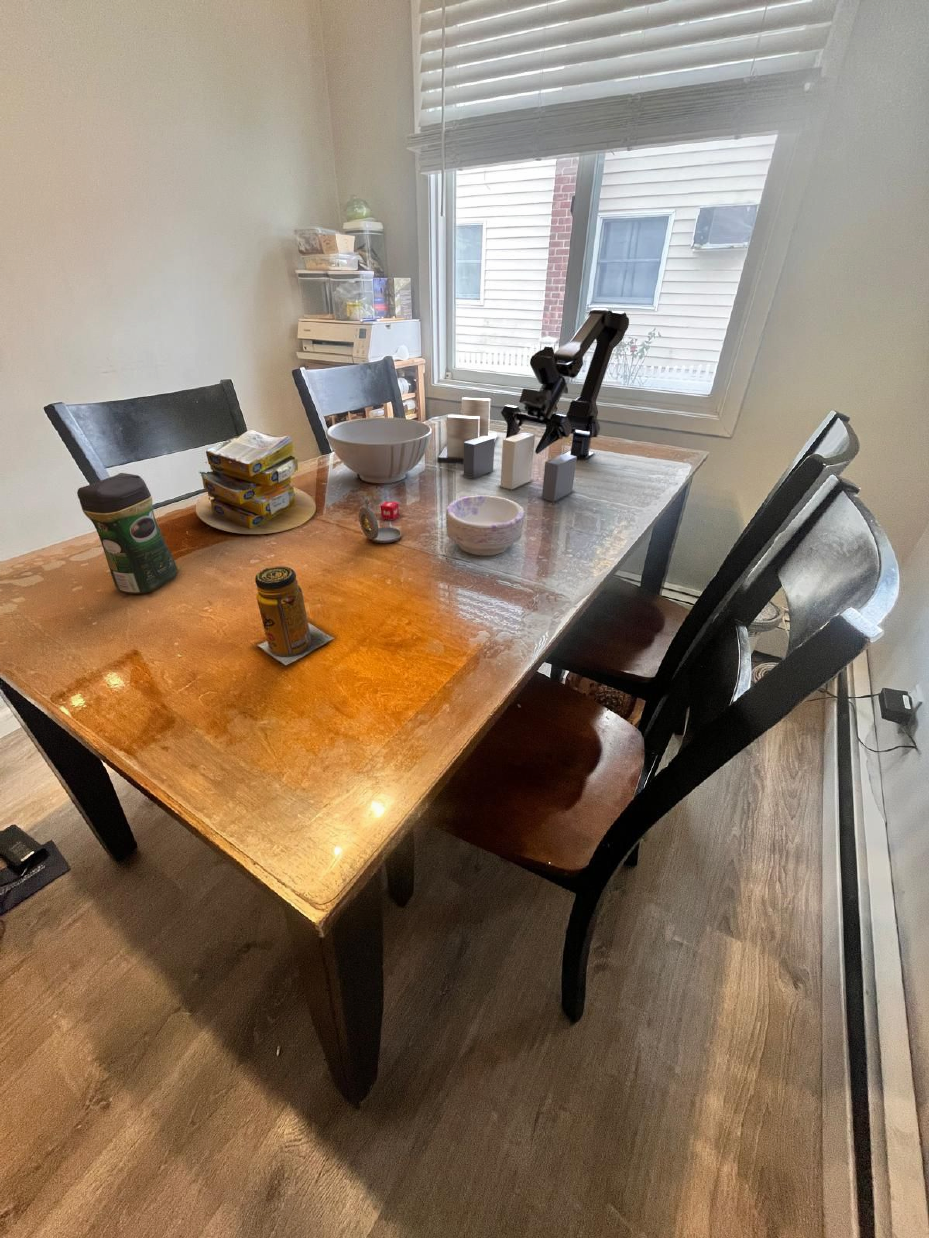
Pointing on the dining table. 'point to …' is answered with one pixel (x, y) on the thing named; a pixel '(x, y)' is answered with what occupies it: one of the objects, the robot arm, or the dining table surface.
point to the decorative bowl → (380, 446)
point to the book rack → (466, 428)
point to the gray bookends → (555, 473)
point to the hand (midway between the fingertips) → (520, 449)
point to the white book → (517, 460)
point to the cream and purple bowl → (484, 524)
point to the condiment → (285, 616)
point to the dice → (389, 510)
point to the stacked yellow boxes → (253, 486)
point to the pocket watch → (376, 526)
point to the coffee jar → (128, 533)
